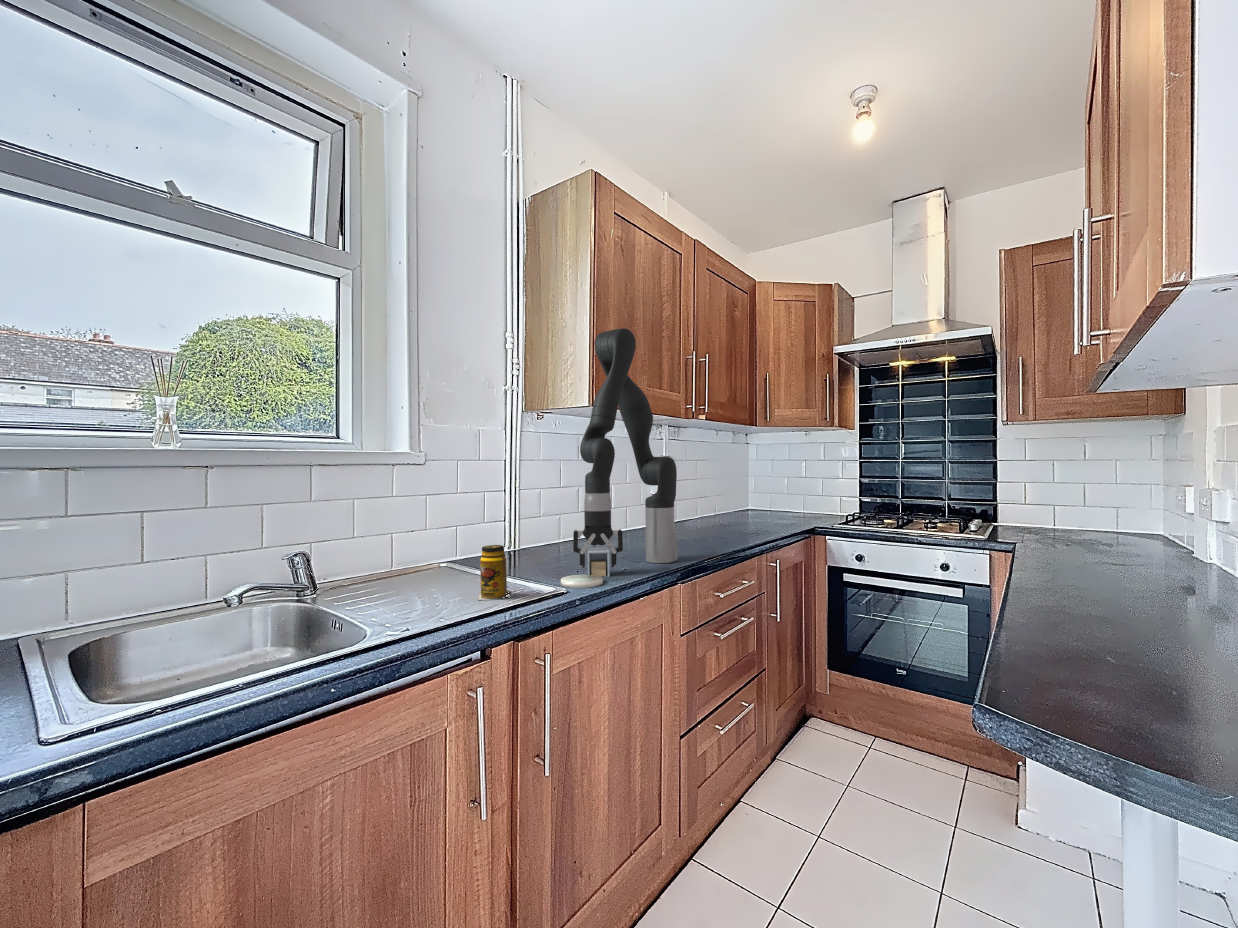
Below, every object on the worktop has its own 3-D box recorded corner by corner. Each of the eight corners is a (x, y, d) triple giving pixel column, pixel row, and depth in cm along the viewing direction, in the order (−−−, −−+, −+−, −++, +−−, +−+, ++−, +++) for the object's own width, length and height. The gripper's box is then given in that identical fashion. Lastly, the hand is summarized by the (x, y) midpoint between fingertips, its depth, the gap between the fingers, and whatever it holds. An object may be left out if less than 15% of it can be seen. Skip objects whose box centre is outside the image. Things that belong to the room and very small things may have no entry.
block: (591, 573, 159) (591, 559, 159) (605, 573, 159) (605, 559, 159) (591, 576, 155) (591, 562, 155) (605, 576, 155) (605, 561, 155)
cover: (588, 572, 160) (587, 548, 160) (608, 572, 160) (608, 547, 160) (587, 576, 154) (587, 551, 154) (609, 576, 154) (609, 551, 154)
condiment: (478, 600, 129) (477, 548, 129) (479, 592, 137) (479, 543, 137) (510, 598, 130) (509, 547, 130) (510, 590, 138) (509, 542, 138)
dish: (589, 577, 153) (589, 572, 153) (610, 584, 144) (610, 579, 144) (553, 582, 147) (553, 577, 147) (573, 589, 138) (573, 584, 138)
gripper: (571, 510, 153) (572, 569, 153) (623, 509, 154) (624, 569, 154) (572, 508, 160) (573, 565, 160) (622, 507, 161) (622, 564, 161)
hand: (598, 566), depth 157 cm, fingers open, 7 cm apart
